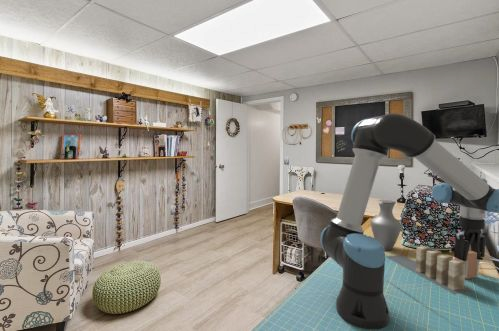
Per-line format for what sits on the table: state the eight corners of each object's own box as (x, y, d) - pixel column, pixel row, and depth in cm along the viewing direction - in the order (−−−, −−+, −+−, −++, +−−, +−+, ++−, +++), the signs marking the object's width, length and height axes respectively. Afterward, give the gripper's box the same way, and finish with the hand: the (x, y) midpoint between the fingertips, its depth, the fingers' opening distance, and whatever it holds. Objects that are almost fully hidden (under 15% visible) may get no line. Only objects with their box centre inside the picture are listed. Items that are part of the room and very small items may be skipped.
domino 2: (430, 278, 100) (431, 253, 99) (425, 275, 101) (426, 251, 101) (440, 276, 101) (441, 252, 100) (435, 274, 103) (436, 250, 102)
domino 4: (453, 290, 91) (454, 263, 90) (447, 287, 93) (449, 260, 92) (463, 288, 92) (465, 261, 91) (458, 285, 94) (459, 259, 93)
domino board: (454, 296, 88) (454, 294, 88) (385, 258, 120) (385, 256, 119) (474, 293, 91) (474, 290, 91) (401, 256, 122) (401, 254, 122)
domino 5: (465, 278, 99) (467, 253, 98) (460, 276, 101) (462, 251, 100) (475, 277, 100) (477, 252, 99) (469, 275, 102) (471, 250, 101)
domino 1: (419, 272, 104) (420, 248, 103) (415, 270, 106) (416, 247, 105) (429, 271, 105) (430, 247, 104) (425, 269, 107) (426, 246, 106)
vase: (366, 248, 132) (367, 201, 130) (373, 241, 143) (375, 197, 141) (397, 256, 122) (399, 205, 121) (403, 247, 133) (405, 200, 132)
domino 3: (441, 283, 95) (442, 257, 95) (436, 281, 97) (437, 255, 97) (451, 282, 96) (452, 256, 96) (446, 279, 98) (447, 254, 98)
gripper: (464, 221, 93) (460, 282, 94) (500, 218, 97) (496, 277, 99) (444, 215, 100) (440, 272, 102) (478, 213, 105) (474, 268, 106)
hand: (468, 275), depth 100 cm, fingers closed on domino 5, 5 cm apart
